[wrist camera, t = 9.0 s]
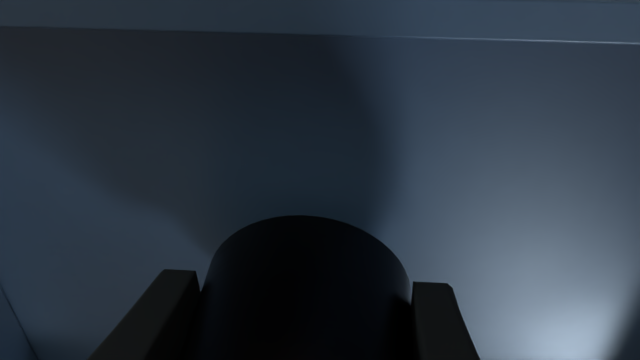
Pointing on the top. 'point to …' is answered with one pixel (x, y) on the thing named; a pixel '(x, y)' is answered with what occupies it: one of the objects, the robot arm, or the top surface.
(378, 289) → the spice tin
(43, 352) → the tray
